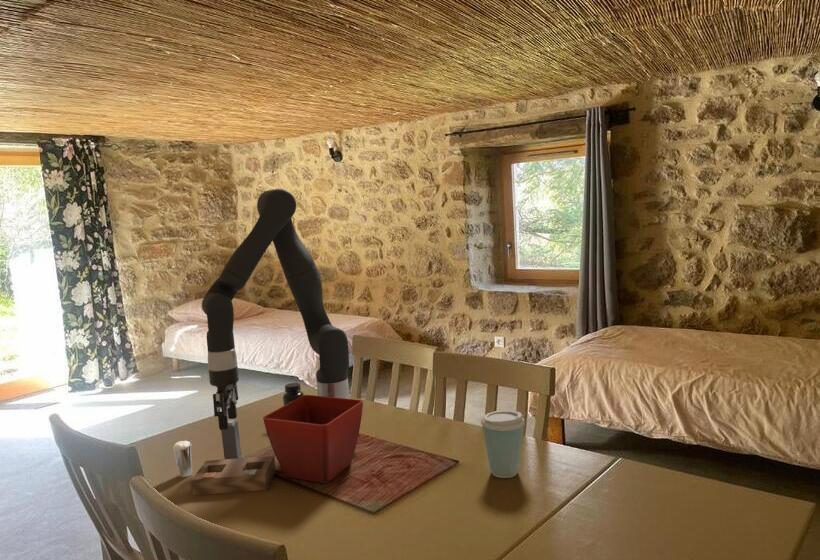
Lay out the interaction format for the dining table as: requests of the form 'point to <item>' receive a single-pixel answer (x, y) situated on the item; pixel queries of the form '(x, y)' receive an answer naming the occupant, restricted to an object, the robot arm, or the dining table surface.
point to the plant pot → (315, 436)
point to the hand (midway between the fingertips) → (228, 423)
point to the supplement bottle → (292, 393)
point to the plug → (231, 441)
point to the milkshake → (183, 458)
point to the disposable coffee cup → (503, 441)
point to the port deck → (234, 475)
